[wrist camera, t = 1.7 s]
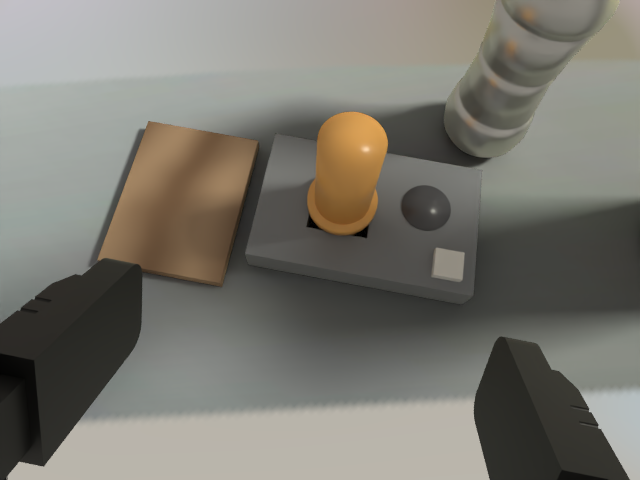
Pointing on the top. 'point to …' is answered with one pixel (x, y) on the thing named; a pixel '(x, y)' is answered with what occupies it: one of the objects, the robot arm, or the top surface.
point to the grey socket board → (373, 226)
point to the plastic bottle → (518, 69)
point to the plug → (347, 173)
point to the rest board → (182, 203)
